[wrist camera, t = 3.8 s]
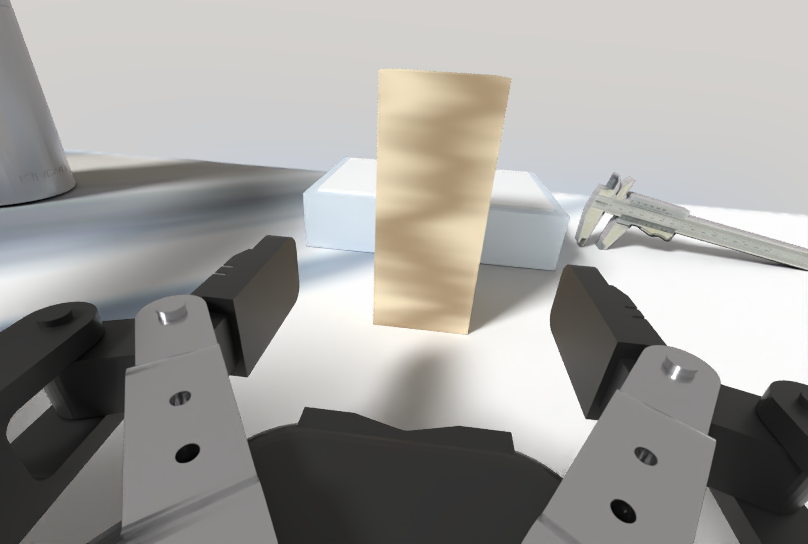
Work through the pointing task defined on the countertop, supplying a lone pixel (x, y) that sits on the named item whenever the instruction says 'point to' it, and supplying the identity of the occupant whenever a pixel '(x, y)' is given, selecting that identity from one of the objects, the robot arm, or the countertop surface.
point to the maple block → (433, 193)
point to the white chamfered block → (505, 229)
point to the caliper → (673, 224)
